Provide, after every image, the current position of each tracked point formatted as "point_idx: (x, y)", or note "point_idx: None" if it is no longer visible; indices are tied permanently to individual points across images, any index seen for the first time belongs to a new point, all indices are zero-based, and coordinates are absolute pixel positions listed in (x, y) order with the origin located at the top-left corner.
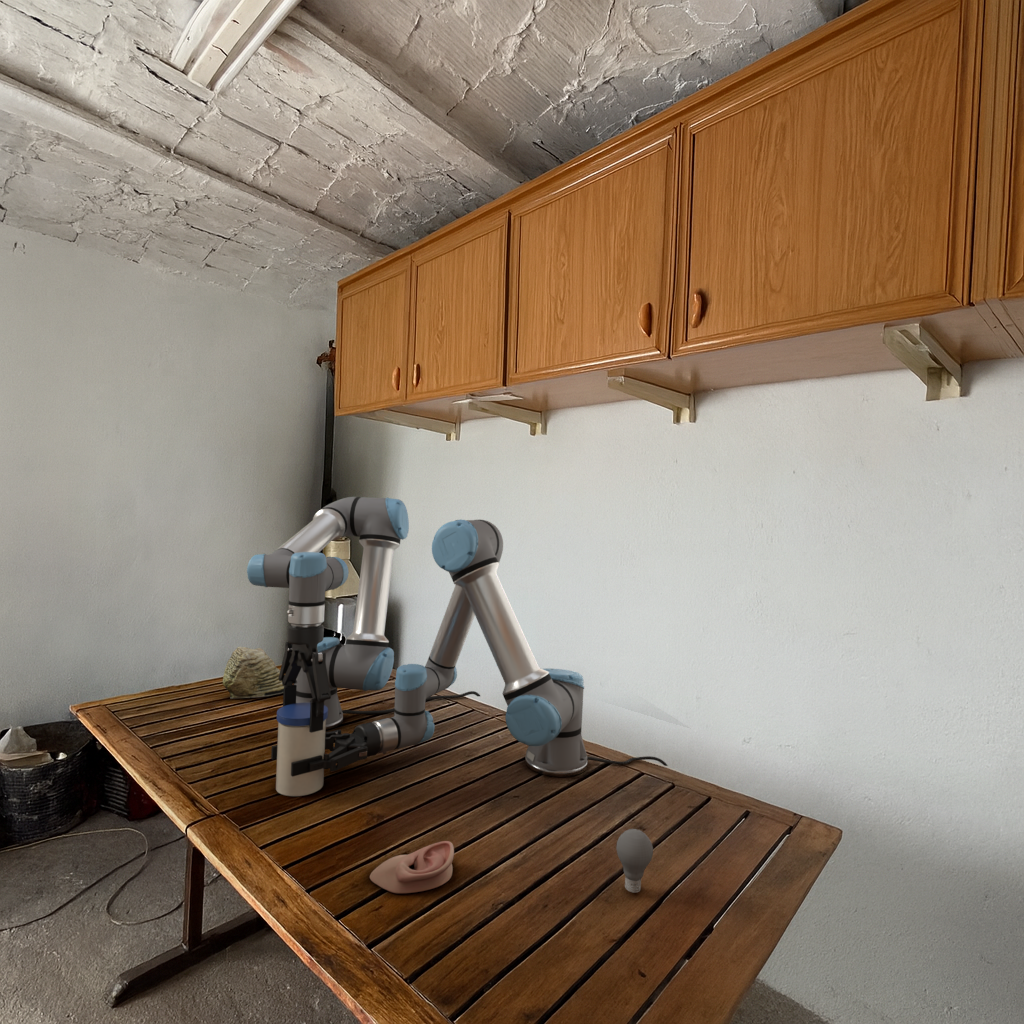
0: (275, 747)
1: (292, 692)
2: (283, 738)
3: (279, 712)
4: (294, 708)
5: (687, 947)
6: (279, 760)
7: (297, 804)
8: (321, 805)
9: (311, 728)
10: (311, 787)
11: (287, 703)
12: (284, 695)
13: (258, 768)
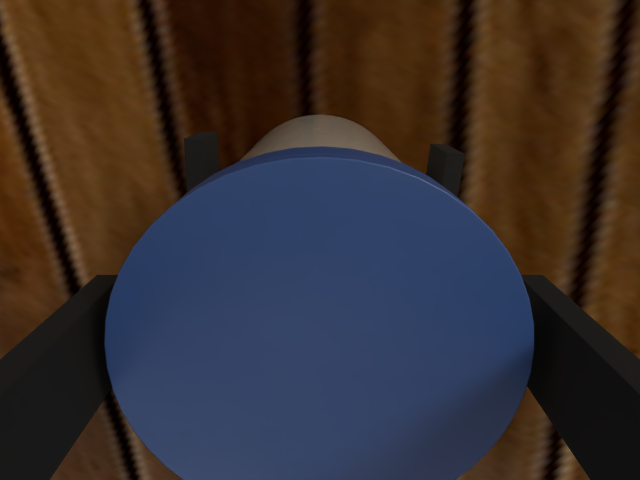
0: (443, 166)
1: (611, 461)
2: (278, 148)
3: (396, 194)
4: (407, 340)
5: None
6: (316, 127)
7: (191, 127)
8: (139, 186)
9: (84, 290)
10: None
11: (563, 349)
12: (630, 376)
13: (559, 146)
